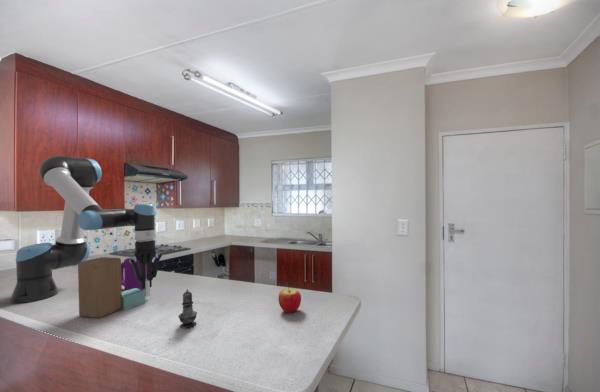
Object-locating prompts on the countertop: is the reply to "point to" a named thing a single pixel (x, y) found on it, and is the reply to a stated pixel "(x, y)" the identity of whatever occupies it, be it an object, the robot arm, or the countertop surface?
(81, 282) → the wooden block
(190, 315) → the grey chess piece
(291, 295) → the apple
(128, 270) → the mug
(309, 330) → the countertop surface
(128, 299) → the teal block
